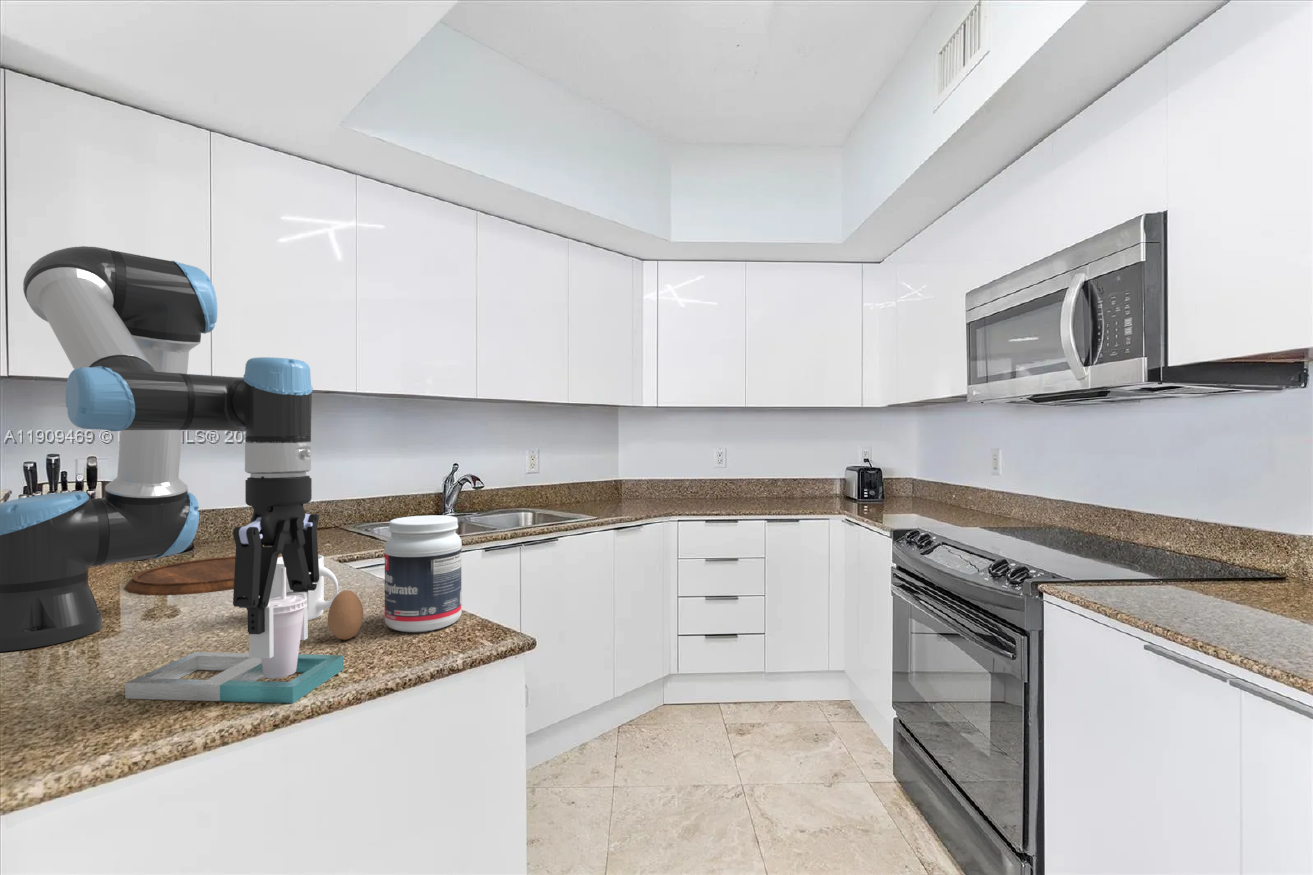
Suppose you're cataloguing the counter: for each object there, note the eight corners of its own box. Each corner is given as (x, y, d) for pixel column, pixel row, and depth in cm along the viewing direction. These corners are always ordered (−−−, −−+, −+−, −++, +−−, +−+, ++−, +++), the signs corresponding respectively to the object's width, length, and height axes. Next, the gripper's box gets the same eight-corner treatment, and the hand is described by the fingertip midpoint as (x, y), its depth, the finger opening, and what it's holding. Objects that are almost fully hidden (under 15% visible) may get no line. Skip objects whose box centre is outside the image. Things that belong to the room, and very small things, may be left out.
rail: (125, 698, 77) (125, 682, 77) (196, 665, 88) (196, 651, 88) (292, 703, 76) (292, 687, 76) (343, 669, 87) (343, 655, 87)
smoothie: (318, 667, 84) (318, 565, 84) (276, 685, 78) (275, 575, 78) (283, 661, 86) (283, 562, 86) (239, 679, 80) (239, 571, 80)
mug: (323, 625, 107) (323, 564, 107) (257, 624, 108) (257, 563, 108) (351, 611, 116) (350, 554, 116) (290, 610, 117) (289, 553, 116)
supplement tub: (367, 628, 105) (367, 521, 105) (425, 609, 117) (424, 513, 117) (422, 639, 100) (422, 526, 100) (477, 618, 111) (477, 517, 111)
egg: (349, 632, 103) (349, 585, 103) (370, 636, 101) (370, 588, 101) (320, 641, 99) (320, 592, 99) (341, 646, 96) (341, 596, 96)
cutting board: (262, 559, 166) (262, 550, 166) (319, 575, 147) (319, 564, 147) (106, 582, 140) (106, 571, 140) (152, 605, 121) (152, 592, 121)
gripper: (254, 480, 72) (255, 676, 72) (347, 470, 91) (347, 625, 91) (193, 480, 72) (194, 675, 73) (298, 470, 92) (299, 624, 92)
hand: (279, 647), depth 82 cm, fingers closed on smoothie, 6 cm apart
